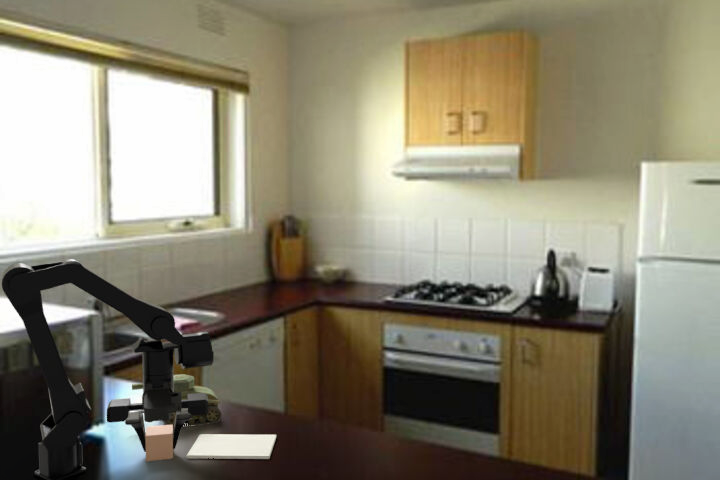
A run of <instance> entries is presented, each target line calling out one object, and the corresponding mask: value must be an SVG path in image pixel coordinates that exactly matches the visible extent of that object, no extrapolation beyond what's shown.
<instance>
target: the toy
mask: <svg viewBox="0 0 720 480" xmlns="http://www.w3.org/2000/svg"><path fill="white" fill-rule="evenodd" d="M195 381H196V380H195V377H194V376H193V375H189V374H184V373H183V374H182V373H181V374H174V392H181V400H188V394H195V393H205V394H206V395H207V396H208V409H209V414H206V415H197V416H192V418H191V419H190V420H186V422H188V427H192V426H191V425H196V426H202V425H201V424H204V425H209V424H208V423H211V424H218V423H219V422H220V421H221V419H222V413H221V410H220V408H219V404H220V400H219V399H218V397H217V396H216V393H215V392H214V390H212V388H209V387H207V386H203V385H202V386H201V385H195ZM131 390H132V391H135V390H143V382H142V383H133V384H131ZM175 416H176V413H171V419H170V420H168V421H163V422H164V423H165V424H164V425H173V429H174V425H175ZM195 420H197V421H195ZM189 425H190V426H189ZM184 426H185V424H184ZM186 426H187V424H186Z"/></svg>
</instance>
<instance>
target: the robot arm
mask: <svg viewBox="0 0 720 480" xmlns="http://www.w3.org/2000/svg"><path fill="white" fill-rule="evenodd" d="M0 279H1V288H2V291H3V293H4V294H5V296H6V298H7V299H8V300H9V303H10V304H11V305H12V307H13V308H14V310H15V311H16V313H17V315H19V317H20V319H21V320H22V322H23V326H24V328H25V331H26V333H27V335H28V338H29V341H30V343H31V346H32V348H33V351H34V354H35V356H36V358H37V362H38V364H39V367H40V370H41V372H42V375H43V378H44V381H45V383H46V385H47V389H48V395H49V401H50V407H51V413H50V414H49V415H48V416H47V417H46V418H45V419H44V420H43V421H42V422H41V423H40V426H39V427H40V432H41V437H42V441H40V442H38V463H39V464H38V466H39V467H38V468H39V469H37V470H35V471H34V475H36V476H38V477H40V478H42V479H44V480H65V479H67V478H70V477H74V476H75V475H78V474H81V473H83V472H85V471H86V470H87V468H86V467H85V466H83V463H84V462H83V443H81V437H80V434H81V433H82V432H83V431H84V430H85V429H86V428H87V426H88V425H89V423H90V415H89V412H90V413H91V412H92V408H91V406H90V404H89V400H88V399H87V398H86V394H85V390H84V388H83V387H84V386H83V385H82V383H81V382H78V383H76V384H75V385H74V384H73V383H72V382H71V380H70V378H69V377H68V375H67V372H66V369H65V367H64V363H63V361H62V358H61V356H60V354H59V353H60V352H59V350H58V349H57V345H56V342H55V340H54V337H53V334H52V332H51V329H50V326H49V323H48V321H47V317H46V316H45V313H44V306H43V297H42V292H41V291H45V290H50V289H54V288H56V287H60V286H63V285H68V284H71V285H74V286H75V287H77V288H79V289H81V290H82V291H83V292H85V293H87V294H88V295H90V296H93V297H94V298H96V299H97V300H99V301H101V302H102V303H104V304H105V305H107V306H109V307H110V308H112V309H114V310H115V311H117V312H119V313H120V314H122V315H124V317H126V318H128V319H129V320H130V321H131V323H133V324H134V325H135V326H136V327H137V328H139V329H140V330H141V331H142V332H144V334H145V335H146V336H148V337H149V338H150V339H152V340H144V339H143V338H142V337H139V338H137V340H136V342H134V343H133V344H132V345H131V347H130V349H131V350H132V351H133V352H134V353H135V354H137V353H138V354H139V353H142V383H143V389H142V394H141V395H142V396H141V402H139V403H138V402H137V403H136V402H134V403H131V401H132V400H131V398H117V399H116V398H115V399H111V400H110V402H108V404H107V408H106V423H120V422H124V424H125V425H126V426H131V427H132V428H133V429H134V431H135V432H136V435H137V436H138V439H139V442H140V444H141V447H142V450H143V451H144V453H146V441H145V435H146V426H145V422H146V423H153V422H158V421H162V422H164V421H168V420H170V419H171V413H176V416H175V425H174V428H173V450H176V447H177V445H178V440H179V437H180V435H181V434H180V433H181V431H182V429H183V428H184V427H183V425H184V423H187V421H186V420H190V419H191V418H192V416H197V415H206V414H209V409H208V396H207V395H206V394H205V393H195V394H188V400H181V392H174V375H175V374H174V363H175V364H176V365H177V366H178V365H180V367H181V369H183V370H185V369H186V370H187V369H195V368H201V367H202V368H203V367H209V366H212V365H213V363H214V357H215V356H214V350H213V345H212V341H211V337H210V335H211V334H210V333H209V332H208V331H200V332H198V333H188V334H183V333H182V332H181V331H180V330H178V329H177V328H176V320H175V316H173V314H171V313H170V312H169V311H168V310H166V309H165V308H164V307H162V306H159V305H158V304H155V303H152V302H151V301H148V300H147V301H146V300H144V299H141V298H138V297H135V296H133V295H131V294H130V293H129V292H126V291H124V290H123V289H121V288H120V287H118V286H117V285H115V284H113V283H112V282H110V281H108V280H107V279H105V278H104V277H102V276H100V275H98V274H97V273H95V272H94V271H93V270H90V269H88V268H87V266H86V267H85V266H83V265H82V263H80V262H79V261H78V260H76V259H74V258H69V259H65V260H63V261H57V262H49V263H41V264H40V263H39V264H35V265H29V264H26V263H22V262H21V263H19V262H18V263H14V264H11V265H9V266H8V267H6V268H5V269H4V271H3V272H2V274H1V278H0ZM162 340H165V341H167V342H168V343H167V342H162Z"/></svg>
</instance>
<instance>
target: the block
mask: <svg viewBox="0 0 720 480" xmlns="http://www.w3.org/2000/svg"><path fill="white" fill-rule="evenodd" d="M145 433H146V435H145V441H146V452H145V461H146V462H152V461H154V462H155V461H162V460H163V459H164V460H171V459H170V458H173V459H174V449H173V434H174V428H173V425H166V424H164V425H153V426H152V425H151V426H146V427H145ZM164 460H163V461H164Z"/></svg>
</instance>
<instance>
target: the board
mask: <svg viewBox="0 0 720 480" xmlns="http://www.w3.org/2000/svg"><path fill="white" fill-rule="evenodd" d="M276 439H277V434H243V433H241V434H236V433H235V434H228V433H227V434H226V433H225V434H223V433H221V434H220V433H219V434H215V433H213V434H211V433H207V434H206V433H205V434H203V433H202V434H201V433H200V434H199V435H198V437H197V438H196V440H195V441H194V443H193V445H192V446H191V448H190V450H189V451H188V452H187V454H186V459H208V458H209V460H210V459H213V458H214V459H220V460H221V459H226V460H227V459H228V460H229V459H230V460H231V459H232V460H233V459H237V460H241V459H242V460H252V459H253V460H270V458H271V454H272V452H273V448H274V447H275V442H276Z"/></svg>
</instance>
